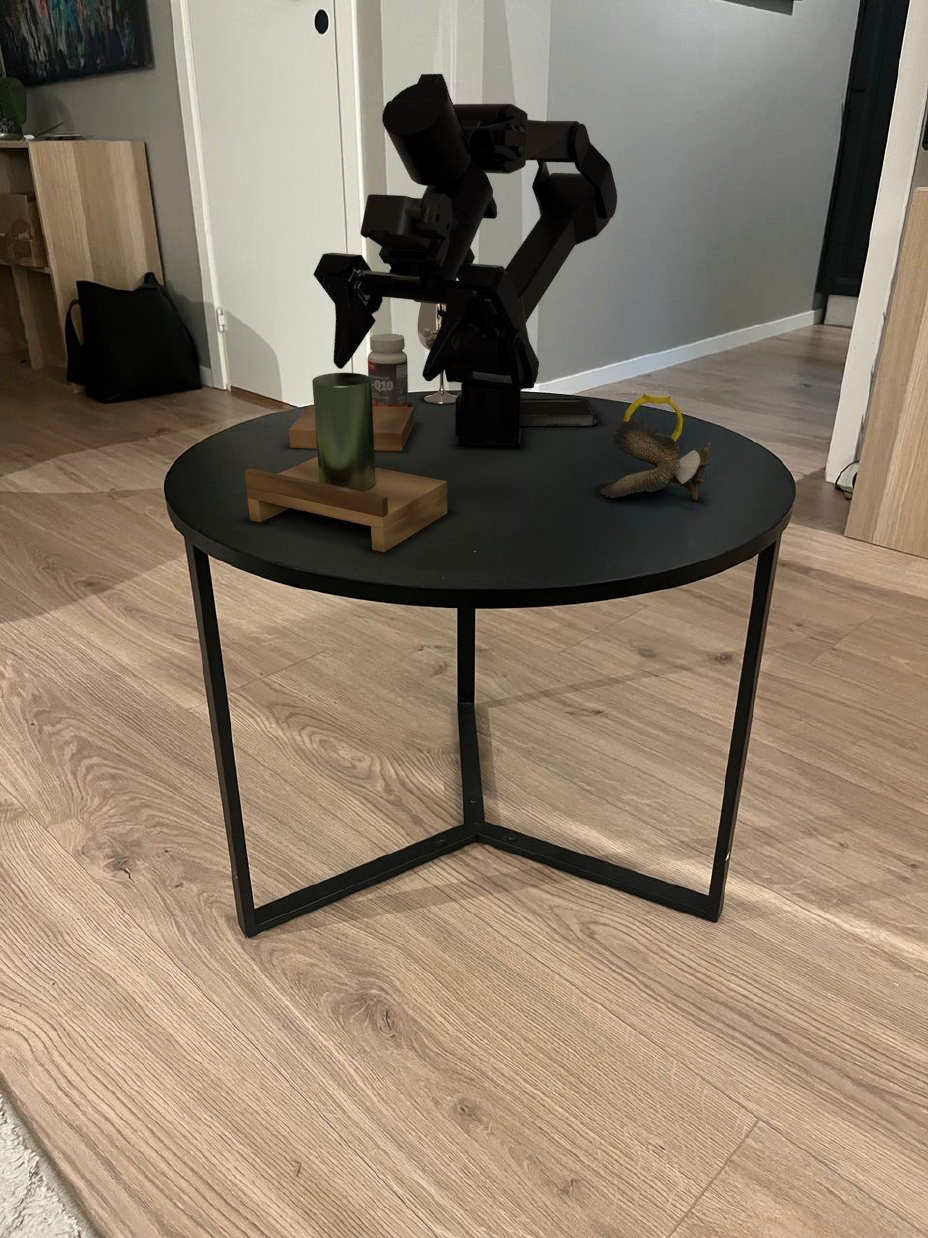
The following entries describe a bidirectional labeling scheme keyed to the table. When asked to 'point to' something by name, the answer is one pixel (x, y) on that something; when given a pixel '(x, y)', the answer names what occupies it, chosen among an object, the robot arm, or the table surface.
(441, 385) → the wineglass
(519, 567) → the table surface
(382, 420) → the wooden block
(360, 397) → the green tumbler
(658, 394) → the watch
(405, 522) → the shelf
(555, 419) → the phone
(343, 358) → the robot arm
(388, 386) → the pill bottle
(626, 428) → the eagle figurine
